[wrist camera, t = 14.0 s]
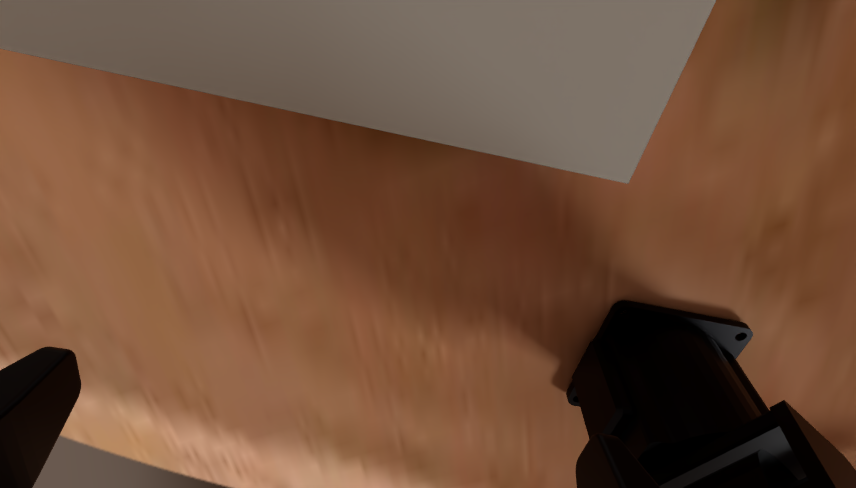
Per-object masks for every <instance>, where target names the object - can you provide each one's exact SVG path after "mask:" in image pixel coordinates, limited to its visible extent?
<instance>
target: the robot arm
mask: <svg viewBox="0 0 856 488" xmlns="http://www.w3.org/2000/svg"><path fill="white" fill-rule="evenodd" d="M623 311H627V312H626V313H623V314H620V313H621V312H623ZM739 333H740V334H739ZM752 336H753V332H752V331H751V330H750V328H749V327H748V326H747V324H745V323H743V322H738V321H732V320H727V319H722V318H717V317H711V316H706V315H701V314H695V313H690V312H685V311H680V310H674V309H669V308H664V307H658V306H653V305H648V304H643V303H637V302H632V301H619V302H617V303H615V304H614V305H613V306H612V308H611V310H610V312H609V313H608V315H607V317H606V319H605V321H604V323H603V325H602V326H601V328H600V330H599V332H598V334H597V336H596V338H595V339H593V340H592V341H591V342H590V344H589V346H588V348H587V350H586V352H585V354H584V355H583V357H582V359H581V361H580V363H579V365H578V367H577V369H576V370H575V372H574V374H573V376H572V382H571V384H570V386H569V388H568V390H567V392H566V395H567V399H568V402H569V403H570V404H571V405H574V406H580V407H581V411H582V414H583V418H584V421H585V425H586V428H587V432H588V435H589V439H590V440H589V441H588V443H587V445H586V446H585V448H584V449H583V451H582V453H581V454H580V456H579V458H578V460H577V463H576V482H577V488H856V470H855V469H854V468H853V466H852V465H851V464H850V462H849V461H848V460H847V459H846V458H845V456H844V455H843V454H842V453H840V452H839V451H838V450H837V449H836V448H835V447H834V446H833V445H832V444H831V443H830V442H829V441H828V440H827V439H825V438H824V437H823V436H822V435H821V434H820V433H819V432H818V431H817V430H816V429H815V428H814V427H813V426H812V425H810V424H809V423H808V422H807V421H806V420H805V419H804V418H803V417H802V416H801V415H800V414H799V413H798V412H797V411H796V410H794V409H793V408H792V407H791V406H790V405H789V404H788V403H787V402H786V401H785V400H783V401H781V402H779V403H777V404H776V405H774V406H772V407H770V411H769V409H768V408H767V406H766V405H765V403H764V402H763V400H762V399H761V397H760V396H759V394H758V393H757V391H756V390H755V388H754V387H753V385H752V384H751V382H750V381H749V379H748V378H747V376H746V375H745V373H744V371H743V370H742V368H741V367H740V365H739V364H738V362H737V361H736V358H737V357H738V355H739V354H740V353H741V351H742V350H743V349H744V347H745V346H746V345H747V343H748V342H749V341H750V339H751V338H752ZM80 390H81V380H80V375H79V370H78V365H77V360H76V356H75V354H74V352H73V351H72V350H69V349H62V348H56V347H44V348H41V349H39V350H37V351H35V352H33V353H31V354H29V355H28V356H26V357H24V358H22V359H20V360H18V361H17V362H15V363H13V364H11V365H9V366H7V367H6V368H4V369H2V370H0V488H32V487H33V485H34V483H35V482H36V480H37V478H38V476H39V474H40V472H41V470H42V468H43V466H44V464H45V463H46V460H47V458H48V457H49V455H50V452H51V450H52V449H53V447H54V445H55V443H56V441H57V439H58V437H59V435H60V433H61V431H62V429H63V427H64V425H65V423H66V421H67V419H68V417H69V415H70V413H71V411H72V409H73V407H74V405H75V403H76V401H77V399H78V397H79V394H80Z"/></svg>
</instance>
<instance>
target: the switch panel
mask: <svg viewBox="0 0 856 488" xmlns="http://www.w3.org/2000/svg"><path fill="white" fill-rule="evenodd" d="M715 2H716V0H0V49H4V50H9V51H14V52H18V53H23V54H28V55H32V56H37V57H42V58H46V59H51V60H55V61H60V62H65V63H69V64H74V65H79V66H83V67H88V68H93V69H97V70H102V71H107V72H111V73H116V74H121V75H125V76H130V77H134V78H139V79H144V80H148V81H153V82H158V83H162V84H167V85H172V86H176V87H181V88H186V89H190V90H195V91H200V92H204V93H209V94H214V95H218V96H223V97H227V98H232V99H237V100H241V101H246V102H251V103H255V104H260V105H265V106H269V107H274V108H279V109H283V110H288V111H293V112H297V113H302V114H306V115H311V116H316V117H320V118H325V119H330V120H334V121H339V122H344V123H348V124H353V125H358V126H362V127H367V128H372V129H376V130H381V131H385V132H390V133H395V134H399V135H404V136H409V137H413V138H418V139H423V140H427V141H432V142H437V143H441V144H446V145H451V146H455V147H460V148H465V149H469V150H474V151H478V152H483V153H488V154H492V155H497V156H502V157H506V158H511V159H516V160H520V161H525V162H530V163H534V164H539V165H544V166H548V167H553V168H557V169H562V170H567V171H571V172H576V173H581V174H585V175H590V176H595V177H599V178H604V179H609V180H613V181H618V182H623V183H627V184H628V183H629V181H630V179H631V177H632V175H633V173H634V171H635V169H636V166H637V164H638V162H639V160H640V158H641V156H642V154H643V152H644V150H645V148H646V146H647V144H648V141H649V139H650V137H651V135H652V133H653V131H654V129H655V127H656V125H657V123H658V121H659V119H660V116H661V114H662V112H663V110H664V108H665V106H666V104H667V102H668V100H669V98H670V96H671V93H672V91H673V89H674V87H675V85H676V83H677V81H678V79H679V77H680V75H681V73H682V71H683V68H684V66H685V64H686V62H687V60H688V58H689V56H690V54H691V52H692V50H693V48H694V46H695V43H696V41H697V39H698V37H699V35H700V33H701V31H702V29H703V27H704V25H705V23H706V20H707V18H708V16H709V14H710V12H711V10H712V8H713V6H714V4H715Z"/></svg>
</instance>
